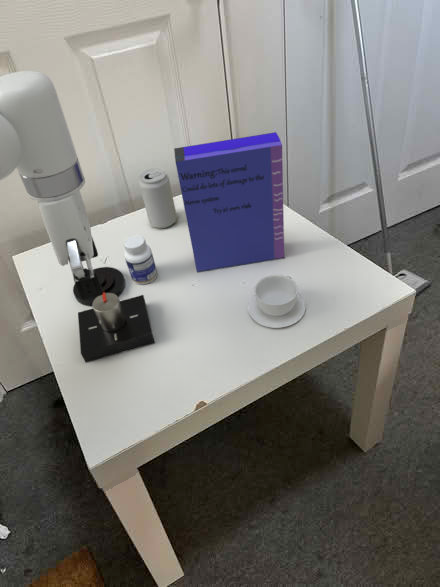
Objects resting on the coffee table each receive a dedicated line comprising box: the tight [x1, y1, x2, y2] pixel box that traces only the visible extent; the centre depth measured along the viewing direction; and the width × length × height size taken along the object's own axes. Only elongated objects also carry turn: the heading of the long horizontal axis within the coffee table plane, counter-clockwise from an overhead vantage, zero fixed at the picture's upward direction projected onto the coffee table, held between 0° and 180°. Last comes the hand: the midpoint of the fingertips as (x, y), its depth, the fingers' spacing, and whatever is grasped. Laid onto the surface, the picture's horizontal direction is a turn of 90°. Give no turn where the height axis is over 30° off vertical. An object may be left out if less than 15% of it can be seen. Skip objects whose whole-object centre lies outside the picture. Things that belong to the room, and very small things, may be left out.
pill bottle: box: [123, 234, 158, 286], centre depth 88 cm, size 5×5×9 cm
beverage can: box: [138, 168, 178, 229], centre depth 100 cm, size 6×6×12 cm
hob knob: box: [91, 292, 126, 332], centre depth 77 cm, size 4×4×5 cm
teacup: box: [247, 274, 307, 329], centre depth 79 cm, size 10×10×5 cm
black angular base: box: [77, 294, 156, 363], centre depth 80 cm, size 12×10×3 cm
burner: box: [72, 266, 126, 307], centre depth 89 cm, size 10×10×2 cm
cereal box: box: [173, 131, 285, 273], centre depth 84 cm, size 17×5×24 cm, turn 97°
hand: (90, 276), depth 71 cm, fingers open, 9 cm apart
